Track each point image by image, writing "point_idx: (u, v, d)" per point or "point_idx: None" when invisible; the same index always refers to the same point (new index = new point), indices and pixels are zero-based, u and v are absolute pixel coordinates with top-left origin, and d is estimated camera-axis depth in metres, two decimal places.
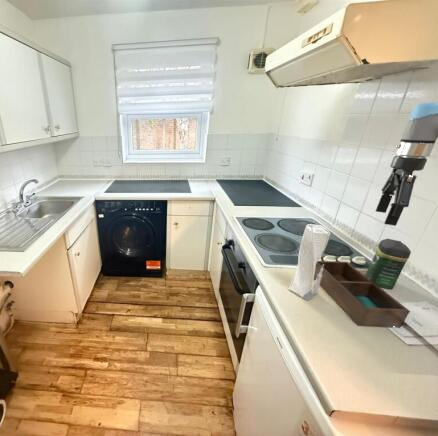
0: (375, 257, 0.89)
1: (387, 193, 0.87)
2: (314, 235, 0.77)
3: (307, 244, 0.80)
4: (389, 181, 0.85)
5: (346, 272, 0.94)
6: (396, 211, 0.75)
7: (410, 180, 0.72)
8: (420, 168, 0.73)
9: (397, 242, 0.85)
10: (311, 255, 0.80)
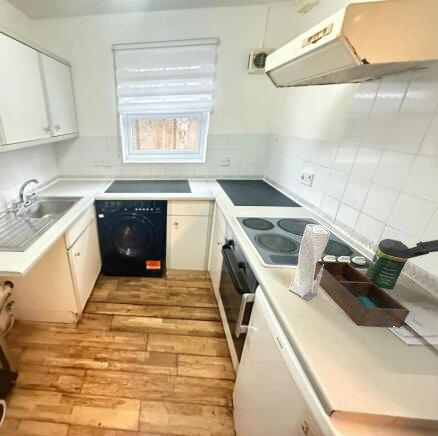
0: (375, 257, 0.89)
1: None
2: (314, 235, 0.77)
3: (307, 244, 0.80)
4: None
5: (346, 272, 0.94)
6: (415, 249, 0.71)
7: None
8: None
9: (397, 242, 0.85)
10: (311, 255, 0.80)
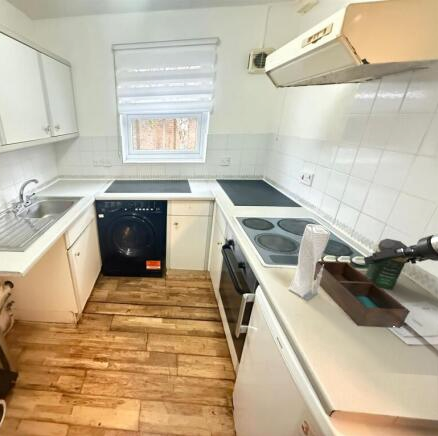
0: None
1: (410, 257, 0.85)
2: (314, 235, 0.77)
3: (307, 244, 0.80)
4: None
5: (346, 272, 0.94)
6: (372, 257, 0.87)
7: (397, 252, 0.78)
8: (425, 256, 0.73)
9: (397, 242, 0.85)
10: (311, 255, 0.80)
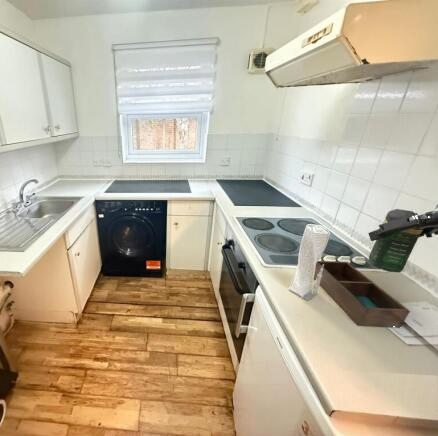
0: None
1: (425, 230, 0.70)
2: (314, 235, 0.77)
3: (307, 244, 0.80)
4: None
5: (346, 272, 0.94)
6: (378, 231, 0.73)
7: (410, 220, 0.63)
8: None
9: (409, 212, 0.71)
10: (311, 255, 0.80)
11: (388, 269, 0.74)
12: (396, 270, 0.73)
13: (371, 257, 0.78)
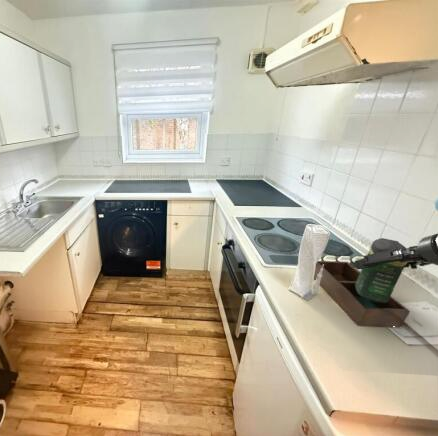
0: None
1: (410, 261, 0.70)
2: (314, 235, 0.77)
3: (307, 244, 0.80)
4: None
5: (346, 272, 0.94)
6: (364, 261, 0.72)
7: (393, 254, 0.63)
8: (429, 260, 0.58)
9: (394, 242, 0.70)
10: (311, 255, 0.80)
11: (374, 299, 0.73)
12: (381, 300, 0.72)
13: (357, 285, 0.77)
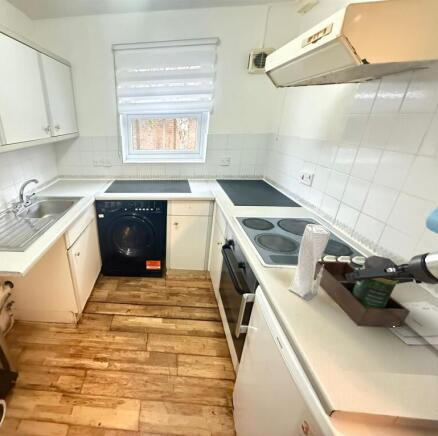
0: None
1: None
2: (314, 235, 0.77)
3: (307, 244, 0.80)
4: None
5: (346, 272, 0.94)
6: (354, 274, 0.73)
7: (387, 271, 0.64)
8: (419, 278, 0.60)
9: (386, 260, 0.73)
10: (311, 255, 0.80)
11: None
12: None
13: None
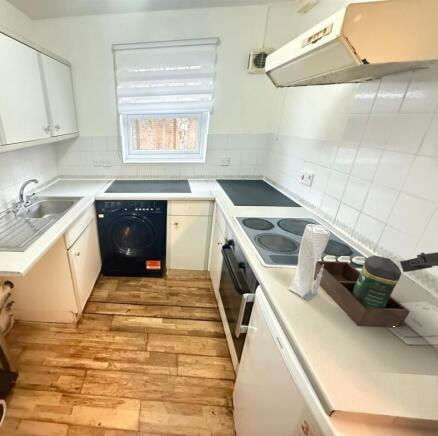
0: (361, 277, 0.76)
1: None
2: (314, 235, 0.77)
3: (307, 244, 0.80)
4: None
5: (346, 272, 0.94)
6: (415, 261, 0.58)
7: None
8: None
9: (386, 260, 0.73)
10: (311, 255, 0.80)
11: None
12: None
13: None
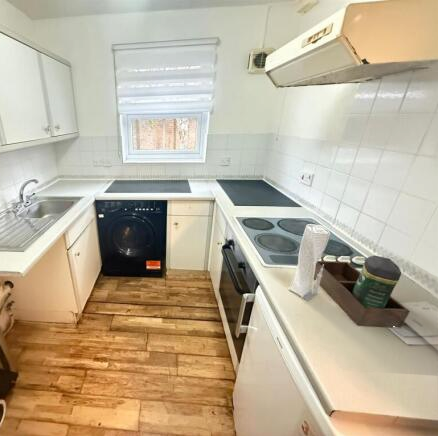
0: (361, 277, 0.76)
1: None
2: (314, 235, 0.77)
3: (307, 244, 0.80)
4: None
5: (346, 272, 0.94)
6: None
7: None
8: None
9: (386, 260, 0.73)
10: (311, 255, 0.80)
11: None
12: None
13: None
